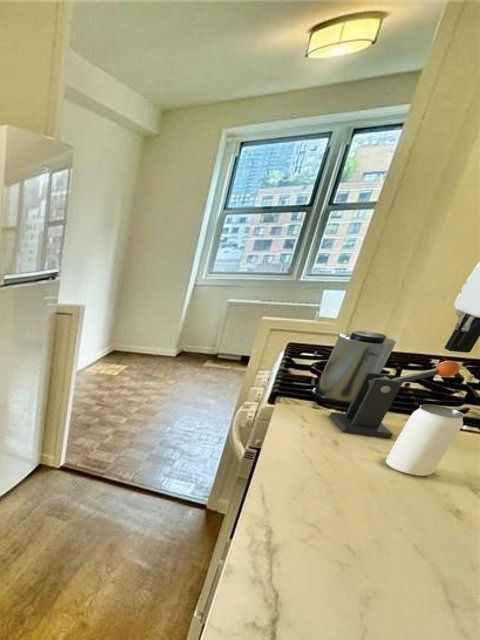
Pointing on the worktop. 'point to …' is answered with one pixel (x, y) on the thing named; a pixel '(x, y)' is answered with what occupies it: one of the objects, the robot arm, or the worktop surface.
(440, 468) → the worktop surface
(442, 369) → the switch
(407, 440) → the can
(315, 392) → the kettle
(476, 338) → the robot arm
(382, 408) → the switch bracket
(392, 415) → the worktop surface
